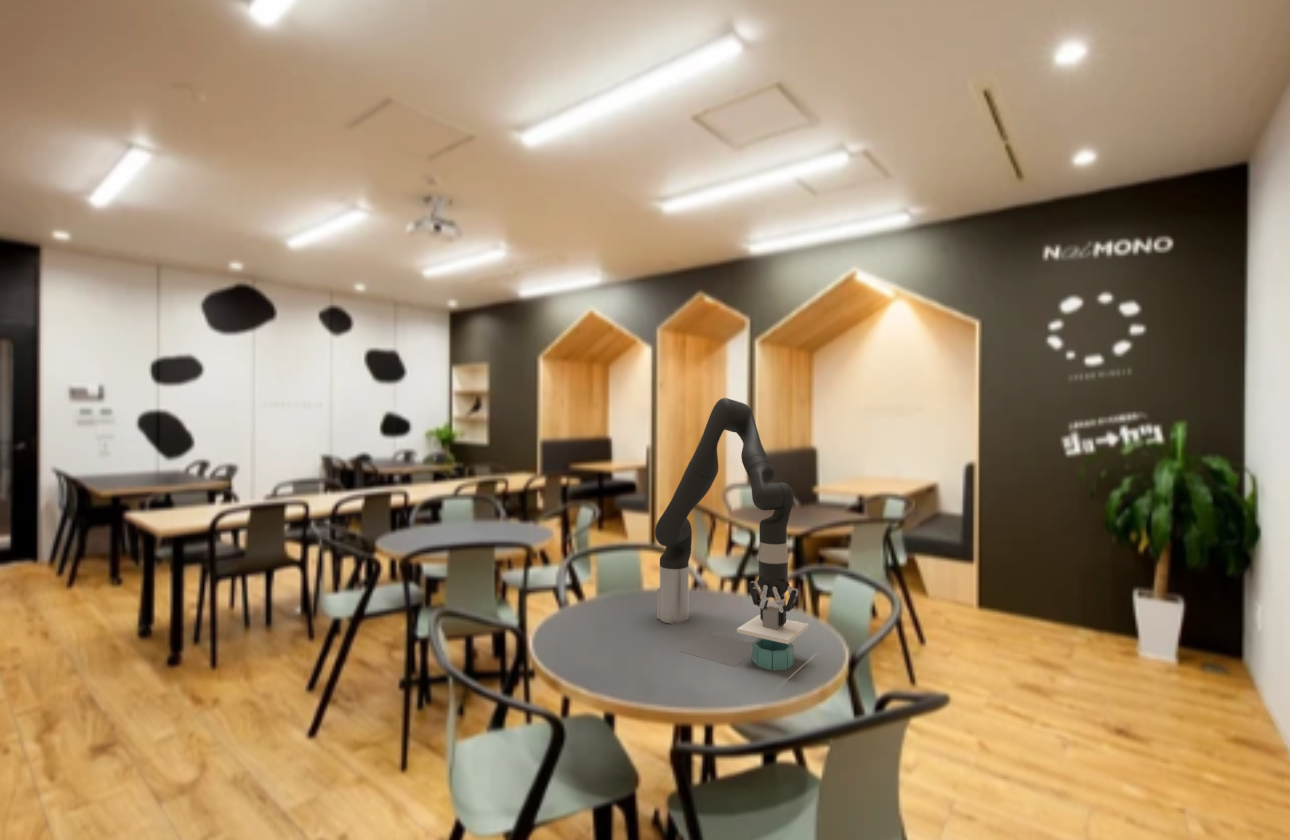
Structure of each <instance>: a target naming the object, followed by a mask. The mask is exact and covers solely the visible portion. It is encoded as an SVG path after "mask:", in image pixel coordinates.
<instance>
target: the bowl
mask: <svg viewBox="0 0 1290 840" xmlns="http://www.w3.org/2000/svg"><path fill="white" fill-rule="evenodd" d="M751 643H752V655H751V661H752V662H753V663H754V664H755V666H756V667H757V668H761V669H765V670H769V671H781V670H783V671H784V670H789V669H790V668H791V667H792V666H794V663H795V661H794V659H795V658H794V656H795V653H794V652H795V650H794V649H795V648H794V647H795V646H794V645H793V644H792V643H791V642H790V643H789V644H785V643H781V642H776V641H772V640H767V639H763V638H759V637H757V638H756V639H755V640H754V641H753V642H751Z"/></svg>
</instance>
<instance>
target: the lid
mask: <svg viewBox="0 0 1290 840" xmlns="http://www.w3.org/2000/svg"><path fill="white" fill-rule="evenodd" d="M779 612H780V611H779V608H778V606H771V605H767V608H765V609H764V610H763V622H762V620H761V618H760V614H758V615H756V616H755V617H753V618H752V619H750V620H748V621H747V622H745V623H744V624H742V625H741V626H739V627H738V628H736V633H738V634H742V635H747V636H751V637H756V638H763V639H767V640H772V641H776V642H781V643H785V644H789V643H791V642H793V641H795V639H796V638H798V637H799V636H800V635H801V634H803V633H804V632H806V630H807V629H809V627H810V626H809V625H810V624H809V623H806V622H800V621H796V620H791V619H787V618H786V623H785V624H784V625H783V626H782V627H781V626H779Z"/></svg>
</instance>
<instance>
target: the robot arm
mask: <svg viewBox="0 0 1290 840" xmlns="http://www.w3.org/2000/svg"><path fill="white" fill-rule="evenodd" d="M724 431H728V432H732V433H736V434H737V435H738V436H739V438H740V440H741V442H742V444H743V445H742V449H741V453H740V455H741V457H740V458H741V463H742V465H743V467H744V470H745V472H746V473H747V476H748V479H749V482H750V488H751V499H752V503H753V504H754V506H755V507H756V508H757V509H758V510H760V511H773V513H772V515H771V516H769V517H765V518H763V519H762V520H760V522H759V528H758V529H759V534H758V535H759V543H758V544H759V545H758V579H757V580H751V581H750V582H748V584H747V586H748V589H749V593H750V596H751V599H752V603H753V605H755V606H758V607H759V608H760V609H759V610H760V618H761V620H762V622H763V610H764V609H765V608H767V607H768V606H769V601H770V599H771V598H772V599H774V600H775V602H776V605H777V607H778V608H779V611H780V612H779V626H781V627H782V626H783V625H784V624H785V623H786V619H787V612H790V611H791V610H794V608H795V605H796V602H797V599H798V596H799V593H800V589H799V588H794V587H792V586H790V583H789V579H788V578H789V574H788V573H789V571H788V570H789V568H788V567H789V563H788V562H789V552H788V543H787V541H788V538H787V537H788V534H787V533H788V532H787V528H788V527H787V526H788V523H789V519H790V515H791V511H792V509H793V505H794V500H795V499H794V491H793V489H792V487H791V486H790V484H788V483H786V482H771V481H773V480H774V478H775V476H776V474H775V473H776V472H775V469H774V467H773V465H772V462H771V461H770V459H769V457H768V455H767V453H766V451H765V449H764V446H763V444H762V442H761V436H760V434H759V431H758V427H757V424H756V421H755V418H754V414H753V412H752V409H751V408H750V407H749V405H747V404H746V403H743V402H741V401H737V400H734V399H731V398H727V397H722V398H719V399H718V400H717V402H715V404H714V405H713V408H712V410H711V412H710V414H709V417H708V419H707V422H706V426H705V428H704V430H703V433H702V435H701V438H700V440H699V442H698V444H697V446H696V449H695V451H694V453H693V455H692V457H691V459H690V460H689V462H688V465H687V467H686V468H685V471H684V473H683V475H682V477H681V479H680V481H679V483H678V485H677V486H676V487H677V488H676V489H675V491H674V493H673V496H672V497H671V500H670V502H669V504H668V505H667V507H666V508H665V510H664V512H663V513H662V515H661V516H660V518H659V519H658V520H657V523H656V525H655V528H654V535H655V539H656V541H657V542H658V544H659V545H660V546H663V547H665V549H664V551H663V552H662V554H661V555H660V556H659V587H658V588H657V589H656V604H657V605H656V606H657V607H656V609H657V610H656V612H657V613H656V619H658V620H660V621H661V622H663V623H666V624H671V625H673V624H676V623H681V622H685V621H687V620H689V615H690V613H689V612H690V611H689V607H690V606H689V605H690V603H689V599H690V598H689V596H690V595H689V589H690V588H689V584H690V583H689V577H690V576H689V573H690V572H689V561H690V559H691V555H692V539H693V537H692V535H693V533H692V531H693V530H692V525H691V522H690V520H689V519H688V517H689V515H690V514H691V512H692V511H693V510H694V508H695V507H696V506H697V505H699V503H700V502H701V501H702V500H703V498H704V497H705V496H706V495H707V494H708V492H709V491H710V489H711V487H712V485H713V483H714V482H715V480H716V478H717V476H718V472H719V457H718V444H719V441H720V439H721V437H722V435H723V433H724ZM759 588H760V590H761V592H762V593H761V595H760V591H759ZM787 591H788V600H787V599H786V592H787ZM786 601H787V602H786Z"/></svg>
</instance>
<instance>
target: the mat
mask: <svg viewBox="0 0 1290 840" xmlns="http://www.w3.org/2000/svg"><path fill="white" fill-rule="evenodd" d="M752 643H753V642H750V641H744V640H741V639H740V640H739V639H737V638H732V637H728V636H724V635H719V634H715V633H708V634H707V635H706V636H703V637H702V638H700V639H699V640H697V641H695V642H694V643H692V644H690V645H688V646H687V647H685V648H684V649H682V650H680V651H679V653H683V654H686V655H690V656H694V657H698V658H701V659H704V660H709V661H712V662H716V663H719V664H723V665H726V666H730V667H736V668H737V666H739V665H740V664H742V663H743V662H745V660H747V659H749V658H750V657H752Z"/></svg>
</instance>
